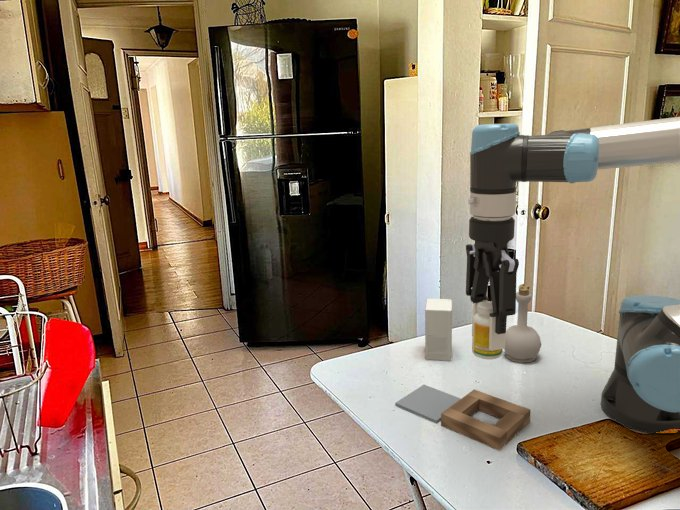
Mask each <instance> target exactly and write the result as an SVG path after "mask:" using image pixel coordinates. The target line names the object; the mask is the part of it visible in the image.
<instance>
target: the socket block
mask: <svg viewBox="0 0 680 510" xmlns="http://www.w3.org/2000/svg"><path fill="white" fill-rule="evenodd" d="M531 410H532V409H529V408H528V407H524V406H523V405H522V406H521V405H518V404H516V403H513V402H510V401H507V400H505V399H501V398H500V397H497V396H493V395H491V394H488V393H485V392H482V391H480V390H477V389H472V390H471V391H469V392H468V393H467V394H465V396H463V397H462V398H461V399H460V400H459V401H457V402H456V403H455V404H453V405H452V406H451V407H449V408H448V409H447V410H445V411H444V412H443V413H441V420H440V426H441V427H444V428H446V429H449V430H451V431H453V432H456V433H458V434H460V435H463V436H465V437H467V438H469V439H472V440H474V441H476V442H479V443H481V444H483V445H485V446H488V447H490V448H492V449H495V450H497V451H501V450H502V449H503V447H505V446H506V445H507V444H508V443H509V442H510V441H511V440H512V439H513V438H514V437H516V436H517V434H519V433H520V431H522V430H523V429H524V428H525V427H526V426H527V425H528V424H529V423H530V422H531V413H532V412H531ZM478 411H480V412H483V413H485V414H488V415H490V416H493V417H495V418H498V419H499V420H498V421H497V422H496V423H495V424H491V423H488V422H486V421H483V420H480V419H478V418H476V417H473V415H476V413H477V412H478Z"/></svg>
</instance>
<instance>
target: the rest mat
mask: <svg viewBox="0 0 680 510" xmlns="http://www.w3.org/2000/svg"><path fill="white" fill-rule="evenodd" d="M460 399H462V398H461V397H458V396H455V395H453V394H451V393H448V392H445V391H442V390H439V389H436V388H434V387H432V386H429V385H426V384H422V385H421V386H419V387H418V388H416V389H415V390H412V392H410V393H409V394H407V395H405V396H403V397H402V398H400V399H399V400H397V401H396V402H394V406H395V407H398V408H400V409H403V410H405V411H407V412H410V413H411V414H414V415H416V416H419V417H421V418H422V419H423V418H424V419H425V420H428V421H430V422H433V423H435V424H438V423H439V422H441V413H443V412H444V411H445V410H447V409H448V408H449V407H451V406H452V405H453V404H455V403H456V402H457V401H459V400H460Z"/></svg>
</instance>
